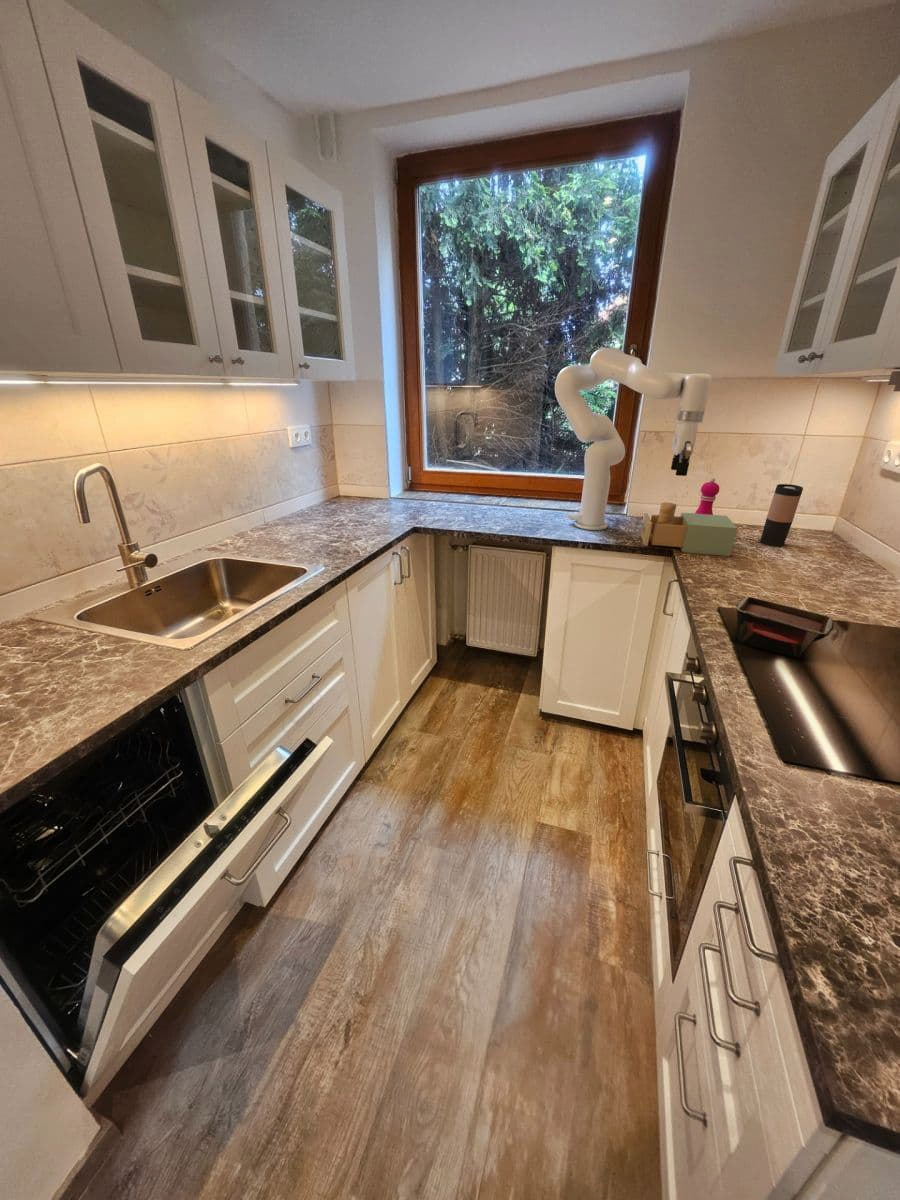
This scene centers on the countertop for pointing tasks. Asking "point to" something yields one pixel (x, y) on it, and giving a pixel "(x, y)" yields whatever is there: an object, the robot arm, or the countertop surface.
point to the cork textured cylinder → (666, 513)
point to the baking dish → (779, 626)
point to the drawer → (662, 531)
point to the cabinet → (708, 534)
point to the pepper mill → (708, 497)
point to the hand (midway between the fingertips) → (678, 472)
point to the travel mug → (781, 514)
